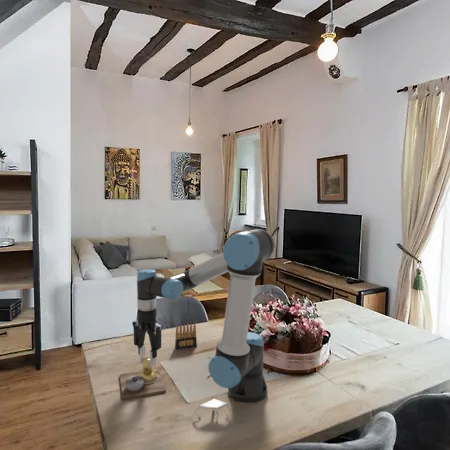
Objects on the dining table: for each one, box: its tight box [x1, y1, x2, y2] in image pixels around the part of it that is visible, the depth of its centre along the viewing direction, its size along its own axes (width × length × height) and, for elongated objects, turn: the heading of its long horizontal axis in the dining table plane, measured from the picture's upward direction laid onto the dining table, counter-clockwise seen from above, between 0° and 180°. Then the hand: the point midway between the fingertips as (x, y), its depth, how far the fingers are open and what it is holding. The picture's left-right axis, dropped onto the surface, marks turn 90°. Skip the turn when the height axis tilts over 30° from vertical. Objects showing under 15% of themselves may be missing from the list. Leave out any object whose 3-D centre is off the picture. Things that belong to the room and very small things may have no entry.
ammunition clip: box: [174, 322, 198, 351], centre depth 180 cm, size 11×2×12 cm, turn 110°
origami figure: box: [193, 398, 232, 422], centre depth 125 cm, size 12×8×5 cm
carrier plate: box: [119, 368, 167, 401], centre depth 145 cm, size 18×16×5 cm
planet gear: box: [137, 356, 158, 383], centre depth 148 cm, size 8×8×8 cm
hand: (147, 363), depth 148 cm, fingers open, 4 cm apart
